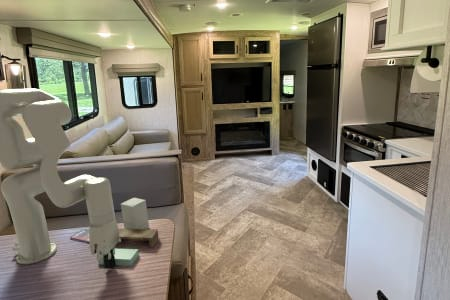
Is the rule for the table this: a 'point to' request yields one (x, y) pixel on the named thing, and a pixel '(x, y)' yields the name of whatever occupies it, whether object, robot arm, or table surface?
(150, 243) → the walnut stand
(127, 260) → the mint green tile
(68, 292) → the table surface
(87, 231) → the smartphone
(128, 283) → the table surface
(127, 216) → the supplement box
